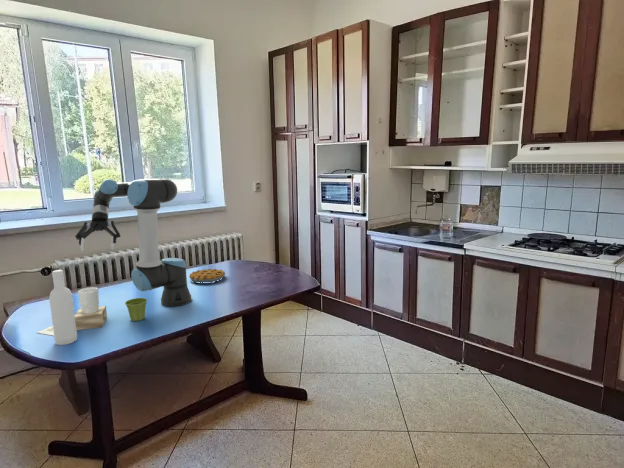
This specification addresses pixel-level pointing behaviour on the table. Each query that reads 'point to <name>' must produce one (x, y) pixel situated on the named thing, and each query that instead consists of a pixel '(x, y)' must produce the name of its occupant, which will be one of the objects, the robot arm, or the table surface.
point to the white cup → (89, 300)
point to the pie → (207, 275)
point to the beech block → (90, 319)
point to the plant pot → (136, 308)
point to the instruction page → (47, 331)
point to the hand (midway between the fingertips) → (97, 249)
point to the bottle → (62, 311)
